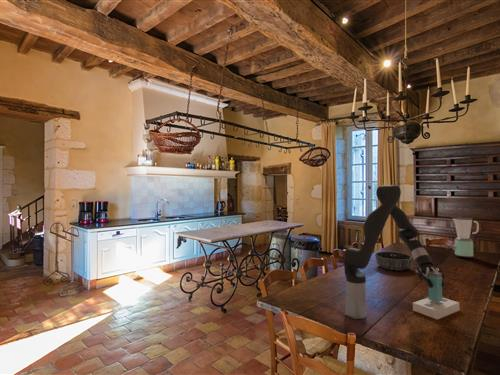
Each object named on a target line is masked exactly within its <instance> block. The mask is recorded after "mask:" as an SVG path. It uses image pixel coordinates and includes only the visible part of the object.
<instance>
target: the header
mask: <svg viewBox="0 0 500 375" xmlns="http://www.w3.org/2000/svg"><path fill="white" fill-rule="evenodd" d="M413 311H414V312H416V313H419V314H422V315H424V316H427V317H430V318H432V319H434V320H440V319H442V318H444V317H447V316H449V315H451V314H454V313H458V312H459V311H460V302H458V301H455V300H451V299H449V298H445V297H443V296H442V301H440V302H435V301H432V300H429V298H428V297H425V298H422V299H420V300H417V301H414V302H412V312H413Z"/></svg>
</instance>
